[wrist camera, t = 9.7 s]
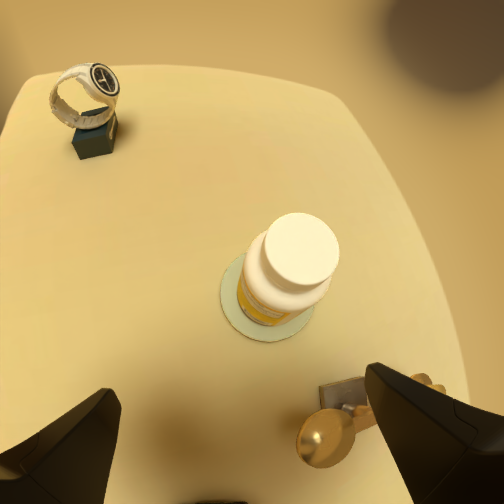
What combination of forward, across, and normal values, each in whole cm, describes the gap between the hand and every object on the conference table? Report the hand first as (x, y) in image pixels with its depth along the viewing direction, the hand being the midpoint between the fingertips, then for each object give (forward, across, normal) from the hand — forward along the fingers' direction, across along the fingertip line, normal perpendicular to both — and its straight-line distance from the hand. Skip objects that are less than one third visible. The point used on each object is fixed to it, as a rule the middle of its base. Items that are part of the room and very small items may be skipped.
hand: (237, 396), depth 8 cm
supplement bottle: (+14, -2, +3) cm, 15 cm away
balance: (+9, -8, +13) cm, 17 cm away
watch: (+25, +15, -14) cm, 33 cm away
